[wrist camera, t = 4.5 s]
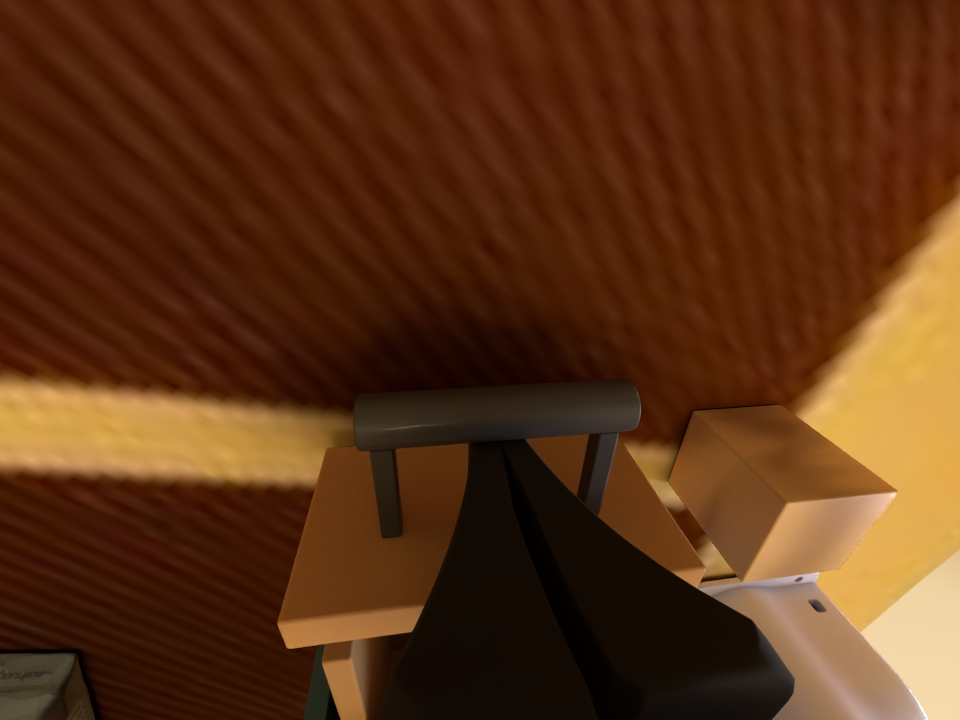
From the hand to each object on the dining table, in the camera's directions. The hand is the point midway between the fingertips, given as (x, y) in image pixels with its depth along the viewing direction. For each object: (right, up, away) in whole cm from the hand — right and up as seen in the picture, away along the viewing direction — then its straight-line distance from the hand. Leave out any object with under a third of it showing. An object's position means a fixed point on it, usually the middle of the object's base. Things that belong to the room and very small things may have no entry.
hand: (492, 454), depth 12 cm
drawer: (-1, -4, +6) cm, 7 cm away
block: (+11, -1, +7) cm, 13 cm away
